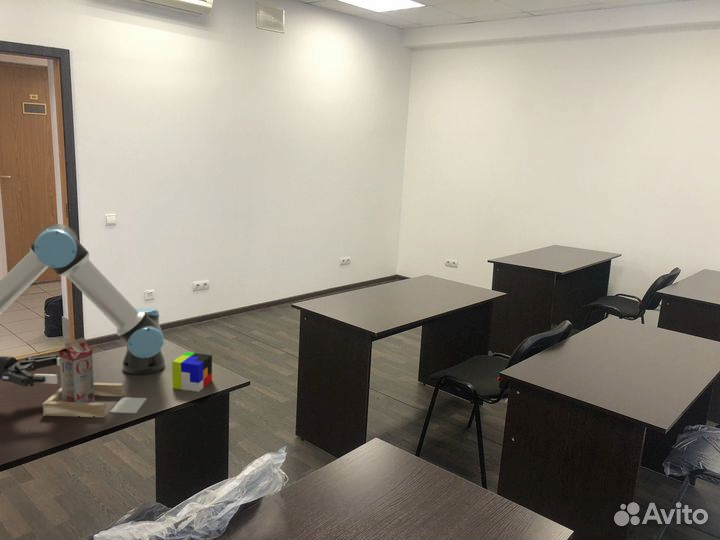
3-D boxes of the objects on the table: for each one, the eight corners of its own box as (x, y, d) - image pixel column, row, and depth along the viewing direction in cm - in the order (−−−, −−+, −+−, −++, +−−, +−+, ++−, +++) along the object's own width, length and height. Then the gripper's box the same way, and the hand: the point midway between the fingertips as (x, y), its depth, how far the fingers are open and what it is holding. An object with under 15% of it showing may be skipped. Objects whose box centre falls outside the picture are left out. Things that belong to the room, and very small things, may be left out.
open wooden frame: (68, 392, 183) (67, 381, 182) (124, 394, 184) (123, 383, 183) (43, 415, 167) (42, 403, 166) (104, 417, 168) (103, 405, 167)
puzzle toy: (198, 391, 189) (198, 365, 187) (172, 388, 191) (172, 361, 189) (212, 380, 199) (211, 355, 196) (187, 377, 200) (186, 351, 198)
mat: (122, 398, 181) (122, 397, 181) (146, 399, 181) (146, 398, 181) (110, 412, 171) (110, 411, 171) (135, 413, 172) (135, 412, 171)
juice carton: (94, 403, 177) (91, 339, 172) (75, 411, 171) (71, 345, 166) (81, 398, 180) (77, 335, 175) (62, 405, 174) (58, 341, 169)
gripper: (22, 364, 184) (86, 366, 185) (-26, 396, 160) (48, 398, 161) (20, 343, 183) (84, 345, 184) (-28, 372, 158) (46, 375, 159)
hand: (67, 370), depth 172 cm, fingers open, 13 cm apart
